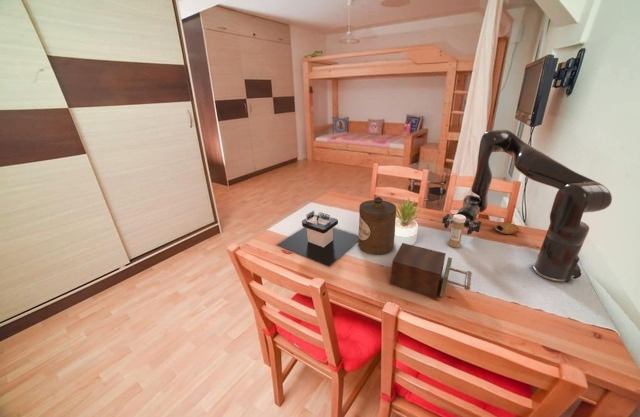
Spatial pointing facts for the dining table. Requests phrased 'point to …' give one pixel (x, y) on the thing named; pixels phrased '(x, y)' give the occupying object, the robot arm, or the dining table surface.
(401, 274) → the cabinet
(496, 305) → the dining table surface
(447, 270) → the drawer
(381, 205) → the wooden container
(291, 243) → the capped box on tray
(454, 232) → the sprinkles bottle
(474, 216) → the robot arm
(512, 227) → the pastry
